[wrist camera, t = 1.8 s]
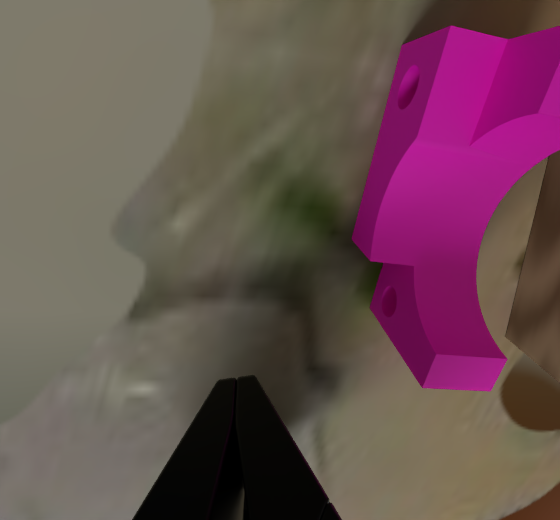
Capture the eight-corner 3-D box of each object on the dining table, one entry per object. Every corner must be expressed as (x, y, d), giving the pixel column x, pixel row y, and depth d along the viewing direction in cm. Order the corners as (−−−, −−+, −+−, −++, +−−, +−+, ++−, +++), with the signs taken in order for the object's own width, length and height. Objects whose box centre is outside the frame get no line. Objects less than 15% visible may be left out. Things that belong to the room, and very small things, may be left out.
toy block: (400, 45, 17) (507, 3, 10) (508, 70, 18) (671, 46, 11) (333, 302, 23) (373, 385, 16) (418, 310, 24) (490, 391, 17)
